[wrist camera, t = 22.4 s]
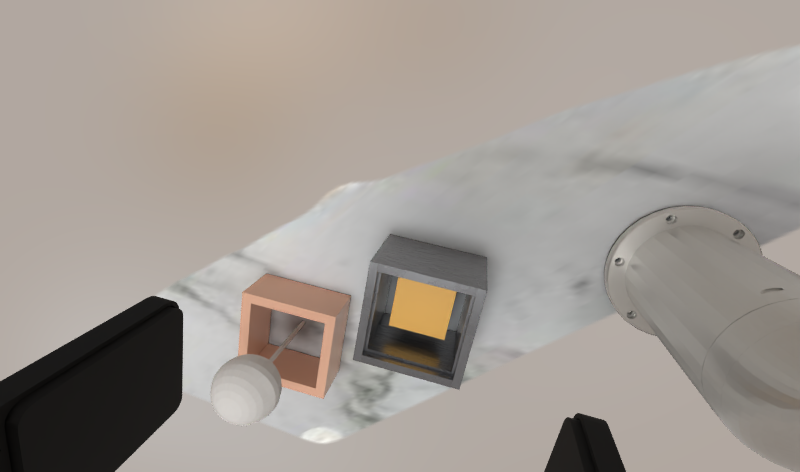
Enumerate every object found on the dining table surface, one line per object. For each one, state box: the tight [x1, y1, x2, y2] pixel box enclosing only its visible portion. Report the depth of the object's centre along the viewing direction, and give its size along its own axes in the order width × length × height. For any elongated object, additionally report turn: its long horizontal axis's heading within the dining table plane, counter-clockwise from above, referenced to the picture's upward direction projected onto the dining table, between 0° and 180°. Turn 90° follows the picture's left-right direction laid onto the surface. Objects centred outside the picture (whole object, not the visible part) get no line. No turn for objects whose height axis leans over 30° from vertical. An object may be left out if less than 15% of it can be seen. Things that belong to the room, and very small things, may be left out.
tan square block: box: [389, 277, 457, 340], centre depth 42 cm, size 6×6×4 cm
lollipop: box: [210, 321, 305, 425], centre depth 41 cm, size 6×6×15 cm
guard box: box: [353, 234, 487, 389], centre depth 40 cm, size 10×10×8 cm
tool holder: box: [238, 274, 351, 399], centre depth 46 cm, size 10×10×5 cm
